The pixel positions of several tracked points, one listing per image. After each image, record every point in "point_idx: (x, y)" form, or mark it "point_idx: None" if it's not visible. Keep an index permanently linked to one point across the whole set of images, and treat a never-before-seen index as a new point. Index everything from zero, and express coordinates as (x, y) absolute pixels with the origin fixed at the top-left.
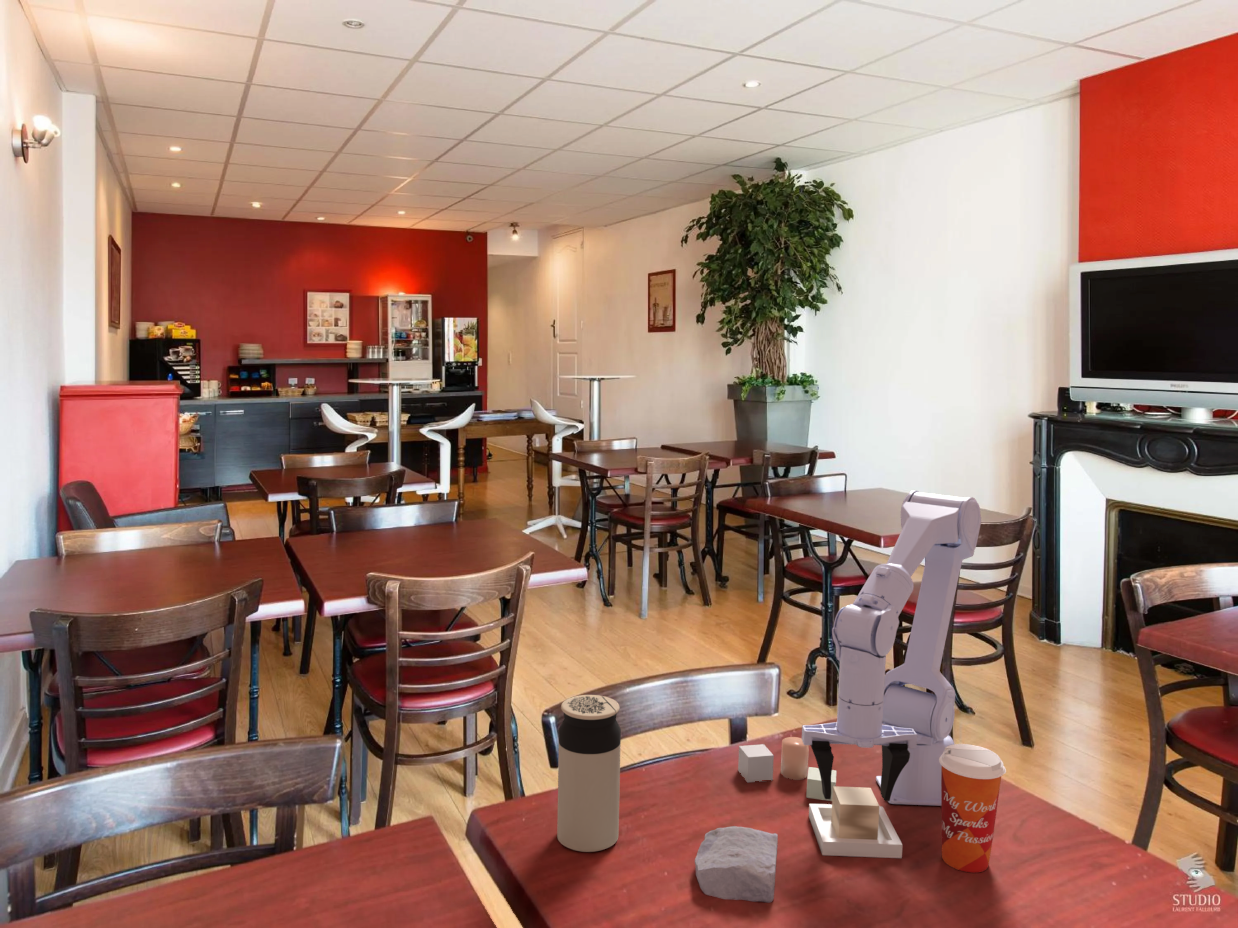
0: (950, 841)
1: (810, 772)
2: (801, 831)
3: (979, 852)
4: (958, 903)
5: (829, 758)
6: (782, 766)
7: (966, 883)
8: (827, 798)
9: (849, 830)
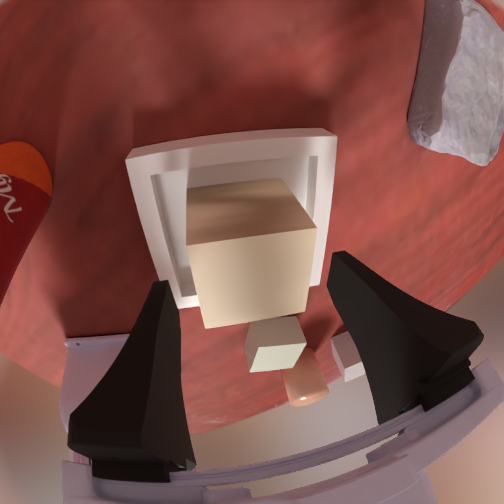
0: (9, 169)
1: (295, 357)
2: (339, 213)
3: None
4: (44, 11)
5: (444, 339)
6: (317, 361)
7: (15, 94)
8: (342, 251)
9: (262, 192)
